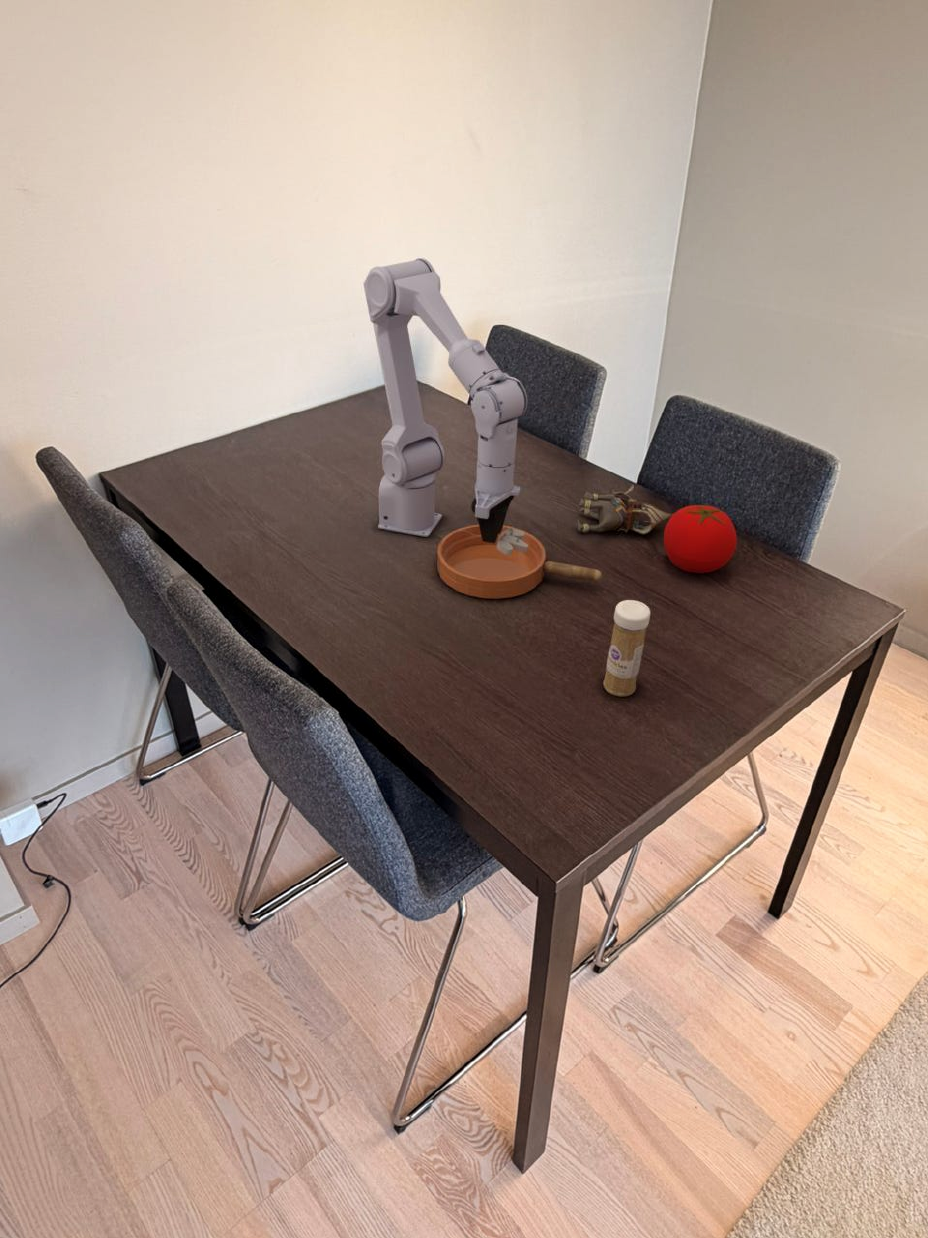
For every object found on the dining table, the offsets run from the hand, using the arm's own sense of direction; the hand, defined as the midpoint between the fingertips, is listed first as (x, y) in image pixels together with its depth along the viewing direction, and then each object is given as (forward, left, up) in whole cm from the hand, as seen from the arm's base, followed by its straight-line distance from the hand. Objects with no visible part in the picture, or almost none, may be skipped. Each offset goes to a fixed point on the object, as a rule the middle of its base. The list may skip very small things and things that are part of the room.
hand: (491, 536), depth 140 cm
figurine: (+19, +22, -7) cm, 30 cm away
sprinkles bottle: (+25, -23, -7) cm, 35 cm away
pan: (0, 0, -6) cm, 6 cm away
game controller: (0, +1, -1) cm, 2 cm away
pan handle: (+14, 0, -5) cm, 14 cm away
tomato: (+32, +13, -7) cm, 35 cm away
